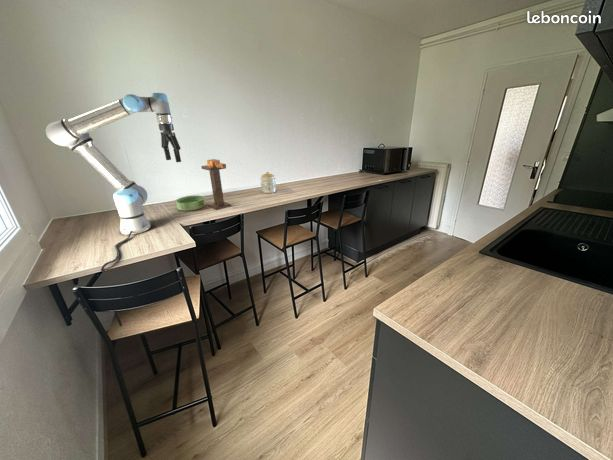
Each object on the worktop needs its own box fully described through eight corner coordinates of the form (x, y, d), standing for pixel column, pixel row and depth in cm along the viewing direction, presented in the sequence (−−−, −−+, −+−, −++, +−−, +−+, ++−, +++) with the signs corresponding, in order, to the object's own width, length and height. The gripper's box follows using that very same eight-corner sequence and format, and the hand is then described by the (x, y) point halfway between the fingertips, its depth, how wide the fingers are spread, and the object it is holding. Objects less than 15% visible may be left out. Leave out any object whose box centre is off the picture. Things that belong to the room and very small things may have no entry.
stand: (231, 205, 189) (225, 165, 177) (216, 209, 181) (210, 167, 169) (222, 202, 197) (216, 163, 184) (208, 206, 188) (201, 166, 176)
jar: (273, 189, 234) (272, 170, 227) (278, 192, 223) (277, 172, 216) (259, 190, 229) (258, 171, 222) (263, 194, 218) (262, 173, 211)
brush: (228, 167, 170) (227, 161, 169) (220, 168, 166) (219, 162, 165) (215, 164, 180) (214, 159, 179) (207, 165, 176) (206, 160, 175)
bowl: (207, 208, 184) (206, 200, 182) (178, 213, 176) (176, 204, 173) (203, 201, 200) (202, 194, 197) (176, 205, 191) (174, 197, 189)
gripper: (181, 123, 140) (189, 162, 149) (163, 123, 155) (170, 158, 163) (168, 123, 135) (176, 163, 143) (150, 123, 150) (158, 159, 158)
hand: (173, 161), depth 153 cm, fingers open, 13 cm apart
